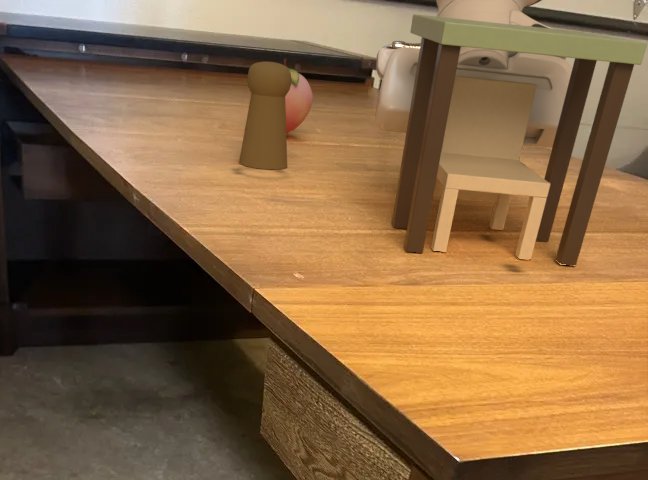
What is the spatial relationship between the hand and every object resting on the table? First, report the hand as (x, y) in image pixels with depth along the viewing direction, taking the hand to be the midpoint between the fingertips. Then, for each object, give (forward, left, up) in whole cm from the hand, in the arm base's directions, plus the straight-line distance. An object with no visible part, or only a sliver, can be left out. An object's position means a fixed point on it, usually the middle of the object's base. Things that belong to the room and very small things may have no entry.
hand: (474, 171), depth 82 cm
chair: (+1, +7, -5) cm, 8 cm away
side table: (0, +6, -5) cm, 8 cm away
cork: (+21, -22, -5) cm, 31 cm away
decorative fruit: (+19, -44, -5) cm, 48 cm away
